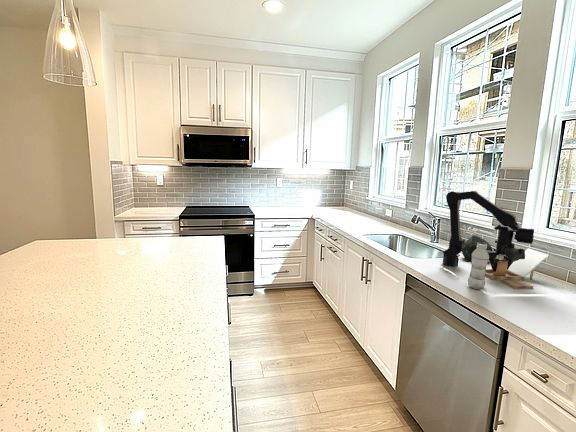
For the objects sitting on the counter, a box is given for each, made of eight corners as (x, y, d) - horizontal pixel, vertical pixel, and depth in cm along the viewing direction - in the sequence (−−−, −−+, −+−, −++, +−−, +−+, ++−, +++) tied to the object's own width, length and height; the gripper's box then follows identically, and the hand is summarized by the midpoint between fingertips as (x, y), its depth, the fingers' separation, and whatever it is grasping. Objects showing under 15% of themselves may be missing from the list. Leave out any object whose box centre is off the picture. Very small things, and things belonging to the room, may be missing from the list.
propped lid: (522, 282, 142) (527, 254, 140) (503, 273, 153) (508, 247, 150) (544, 282, 143) (549, 254, 141) (524, 273, 154) (528, 248, 151)
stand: (513, 290, 131) (514, 286, 131) (500, 284, 138) (501, 280, 138) (532, 290, 132) (533, 286, 132) (519, 284, 139) (519, 280, 139)
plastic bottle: (481, 286, 134) (488, 242, 131) (486, 292, 128) (493, 246, 125) (465, 284, 137) (471, 240, 133) (468, 289, 130) (475, 244, 127)
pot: (498, 277, 144) (500, 261, 142) (489, 273, 149) (492, 257, 147) (508, 277, 144) (511, 261, 143) (499, 273, 149) (502, 257, 148)
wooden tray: (492, 282, 140) (493, 276, 140) (476, 273, 151) (476, 268, 151) (522, 282, 142) (523, 277, 141) (504, 273, 153) (505, 268, 152)
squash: (503, 255, 166) (488, 231, 173) (484, 258, 161) (469, 233, 168) (482, 265, 178) (468, 242, 185) (464, 268, 172) (451, 245, 179)
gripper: (499, 244, 135) (493, 277, 137) (538, 244, 136) (532, 278, 139) (481, 238, 146) (476, 269, 148) (517, 238, 147) (512, 269, 150)
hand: (499, 271), depth 146 cm, fingers closed on pot, 5 cm apart
